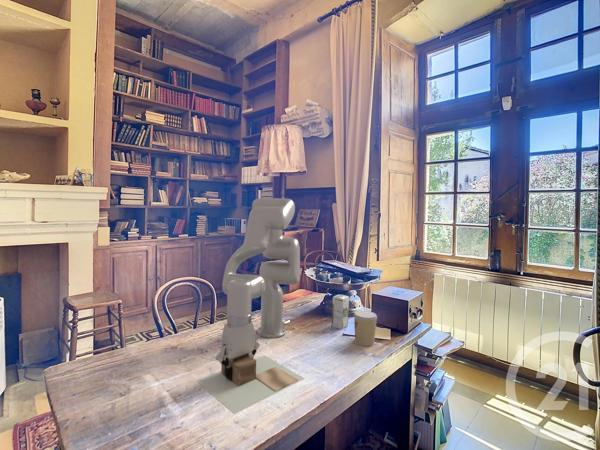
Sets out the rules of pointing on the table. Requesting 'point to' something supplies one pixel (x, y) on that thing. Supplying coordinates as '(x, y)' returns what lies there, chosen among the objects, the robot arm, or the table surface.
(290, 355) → the table surface
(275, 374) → the cork pad
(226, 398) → the sage board
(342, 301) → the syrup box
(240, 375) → the walnut cover
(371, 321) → the coffee cup
